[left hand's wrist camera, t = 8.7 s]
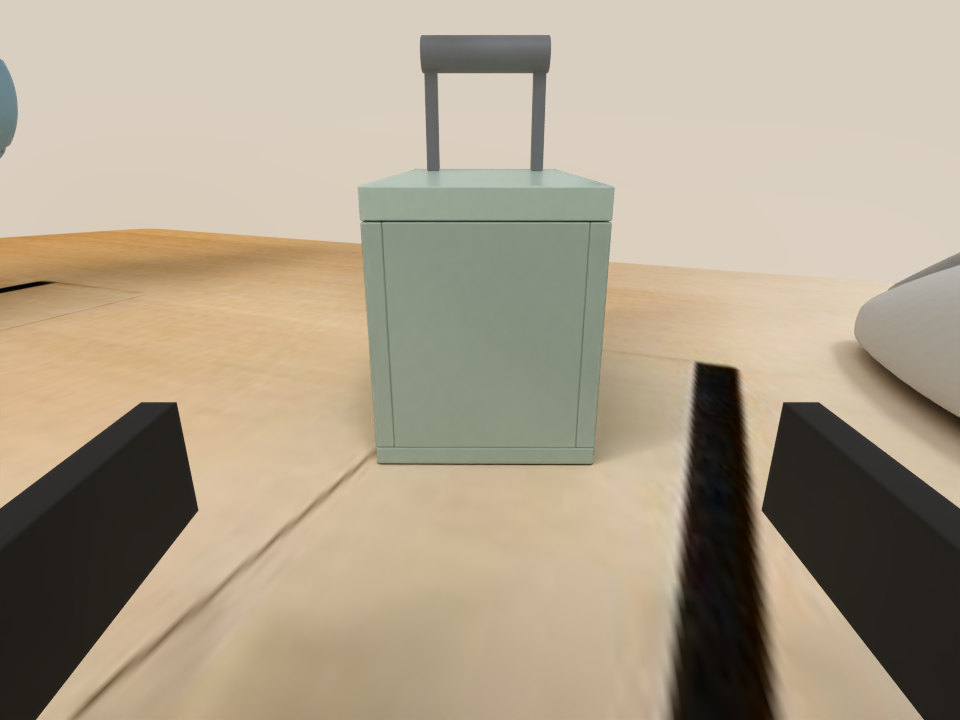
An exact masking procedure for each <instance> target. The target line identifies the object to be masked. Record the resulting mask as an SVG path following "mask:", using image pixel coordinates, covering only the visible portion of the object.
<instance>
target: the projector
mask: <svg viewBox="0 0 960 720" xmlns="http://www.w3.org/2000/svg"><path fill="white" fill-rule="evenodd" d="M854 333H855V337H856V339H857V341H858V342H859V343H860V344H861V346H862V347H863V348H864V349H865V350H866V351H867V352H868V353H869V354H870V355H871V356H872V357H873V358H875V359H876V360H877V361H878V362H879V363H880V364H882V365H883V366H884V367H885V368H886V369H888V370H889V371H890V372H892V373H893V374H894V375H895V376H897V377H898V378H899V379H901V380H902V381H903V382H905V383H906V384H908V385H909V386H911V387H912V388H913V389H915V390H916V391H918V392H919V393H921V394H922V395H924V396H925V397H927V398H929V399H930V400H932V401H933V402H935V403H936V404H938V405H939V406H941V407H943V408H944V409H946V410H948V411H949V412H951V413H953V414H954V415H956V416H958V417H959V418H960V253H958V254H956V255H953V256H951V257H949V258H947V259H945V260H943V261H941V262H939V263H936V264H934V265H932V266H930V267H928V268H926V269H924V270H922V271H920V272H918V273H916V274H914V275H912V276H910V277H908V278H906V279H904V280H902V281H900V282H899V283H897V284H895V285H893V286H892V287H890V289H889V290H888V291H886V292H884V293H882V294H880V295H878V296H876V297H874V298H872V299H871V300H869V301H867V302H866V303H865V304H864V305H863V306H862V307H861V309H860V310H859V313H858V315H857V318H856V322H855V329H854Z"/></svg>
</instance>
